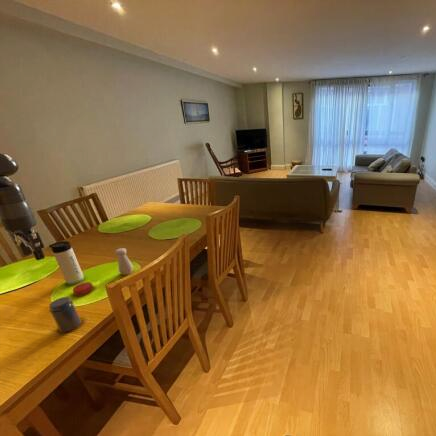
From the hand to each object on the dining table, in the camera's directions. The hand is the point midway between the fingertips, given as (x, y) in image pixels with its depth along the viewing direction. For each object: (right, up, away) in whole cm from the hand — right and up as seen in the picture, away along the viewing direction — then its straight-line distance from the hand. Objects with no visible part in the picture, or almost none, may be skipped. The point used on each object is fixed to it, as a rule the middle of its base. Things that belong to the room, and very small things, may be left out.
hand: (34, 256), depth 86 cm
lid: (+2, -16, +18) cm, 24 cm away
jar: (+13, -25, +1) cm, 28 cm away
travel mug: (-8, -16, +25) cm, 31 cm away
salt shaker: (+12, -13, +31) cm, 36 cm away
